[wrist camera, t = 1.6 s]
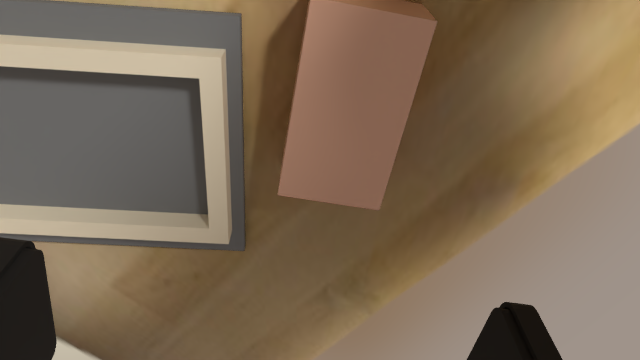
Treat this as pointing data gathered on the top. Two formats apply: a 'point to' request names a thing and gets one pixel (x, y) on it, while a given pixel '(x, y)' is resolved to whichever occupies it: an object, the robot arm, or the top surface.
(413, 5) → the salmon pink brick
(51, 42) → the pocket mat
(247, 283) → the top surface
